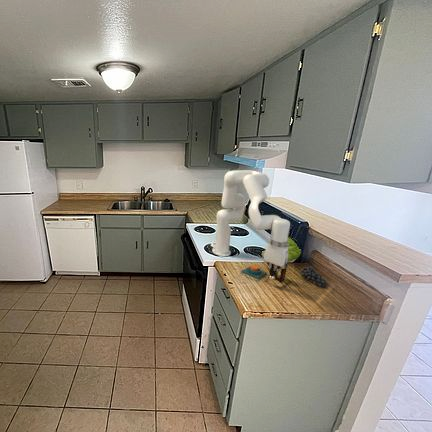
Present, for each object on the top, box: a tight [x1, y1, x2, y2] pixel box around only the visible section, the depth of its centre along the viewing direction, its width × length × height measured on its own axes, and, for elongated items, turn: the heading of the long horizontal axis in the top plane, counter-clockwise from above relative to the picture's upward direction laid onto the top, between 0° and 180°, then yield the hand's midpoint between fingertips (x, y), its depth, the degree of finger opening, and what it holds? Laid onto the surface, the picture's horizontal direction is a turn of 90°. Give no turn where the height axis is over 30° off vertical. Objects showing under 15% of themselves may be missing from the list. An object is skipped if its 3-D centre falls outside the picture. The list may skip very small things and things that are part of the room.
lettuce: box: [261, 236, 302, 263], centre depth 160 cm, size 15×25×16 cm
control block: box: [240, 265, 267, 280], centre depth 141 cm, size 10×10×4 cm
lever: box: [268, 268, 282, 282], centre depth 130 cm, size 13×3×3 cm, turn 128°
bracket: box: [274, 262, 289, 284], centre depth 133 cm, size 12×9×12 cm
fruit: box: [299, 265, 329, 289], centre depth 132 cm, size 9×8×15 cm
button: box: [250, 264, 259, 271], centre depth 140 cm, size 4×4×2 cm
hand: (272, 275), depth 127 cm, fingers closed
